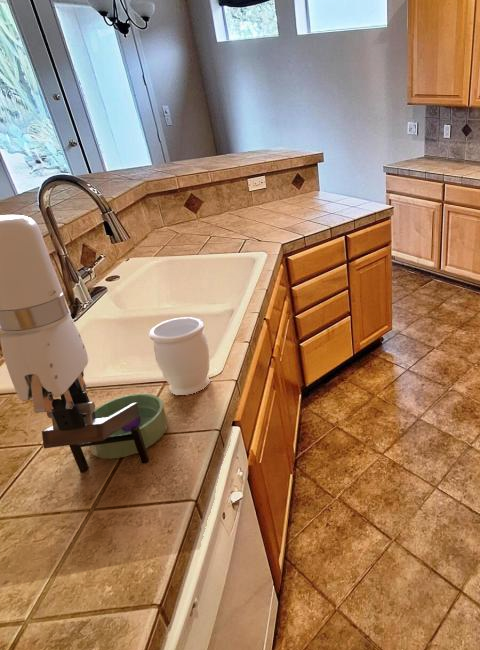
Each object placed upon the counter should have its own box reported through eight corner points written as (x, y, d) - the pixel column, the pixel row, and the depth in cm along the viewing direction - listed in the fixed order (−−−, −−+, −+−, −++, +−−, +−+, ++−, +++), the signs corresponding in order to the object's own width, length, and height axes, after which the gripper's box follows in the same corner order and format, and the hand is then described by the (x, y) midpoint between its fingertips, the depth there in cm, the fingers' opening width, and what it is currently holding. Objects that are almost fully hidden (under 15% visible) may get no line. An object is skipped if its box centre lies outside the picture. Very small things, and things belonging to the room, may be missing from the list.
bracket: (80, 473, 74) (66, 439, 71) (82, 468, 75) (69, 435, 72) (147, 463, 76) (137, 429, 73) (149, 458, 77) (138, 426, 74)
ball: (123, 426, 84) (116, 435, 81) (122, 409, 84) (114, 417, 80) (143, 425, 85) (137, 433, 82) (142, 408, 84) (136, 416, 81)
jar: (199, 367, 104) (186, 312, 98) (224, 382, 99) (213, 324, 92) (155, 388, 96) (138, 329, 90) (180, 405, 91) (165, 344, 84)
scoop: (41, 449, 62) (37, 409, 62) (90, 422, 76) (87, 389, 76) (102, 441, 64) (97, 402, 63) (139, 416, 78) (135, 384, 78)
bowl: (76, 466, 75) (67, 444, 73) (105, 418, 87) (97, 398, 85) (158, 454, 78) (152, 432, 76) (175, 409, 90) (170, 389, 88)
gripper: (33, 291, 63) (74, 394, 71) (-44, 344, 49) (18, 465, 56) (90, 287, 64) (124, 388, 72) (32, 337, 50) (82, 456, 58)
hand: (77, 421), depth 64 cm, fingers closed, pressing on scoop
